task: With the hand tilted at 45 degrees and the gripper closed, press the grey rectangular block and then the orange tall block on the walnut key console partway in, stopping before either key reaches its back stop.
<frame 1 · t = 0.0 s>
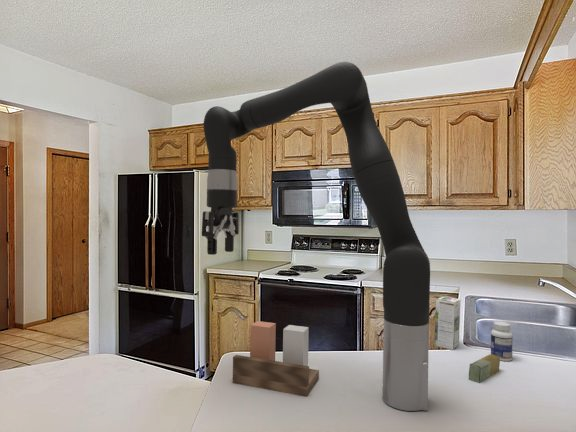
hand: (221, 253, 98), 29 cm above the worktop, tool pointing down, fingers open, 8 cm apart
pill bottle: (501, 358, 109), on the worktop
key console: (276, 380, 92), on the worktop
medication box: (484, 376, 97), on the worktop
grey rectangular block: (295, 349, 92), point 7 cm above the worktop, slide at 0.0 cm
orange tall block: (262, 344, 95), point 7 cm above the worktop, slide at 0.0 cm
syrup box: (446, 346, 119), on the worktop
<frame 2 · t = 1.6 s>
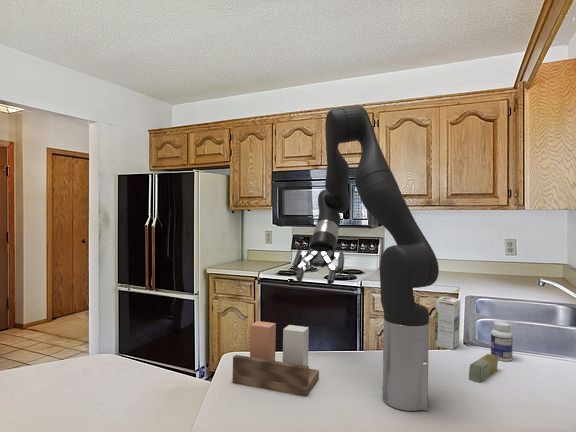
hand: (313, 282, 107), 21 cm above the worktop, tool tilted 45°, fingers open, 8 cm apart
nothing on the worktop moved.
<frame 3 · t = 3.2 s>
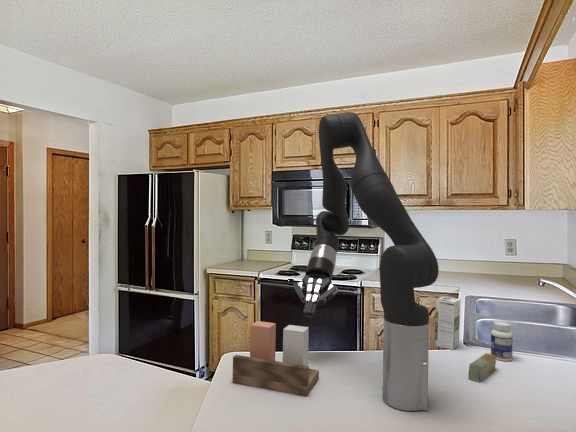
hand: (308, 316, 101), 13 cm above the worktop, tool tilted 45°, fingers closed
nothing on the worktop moved.
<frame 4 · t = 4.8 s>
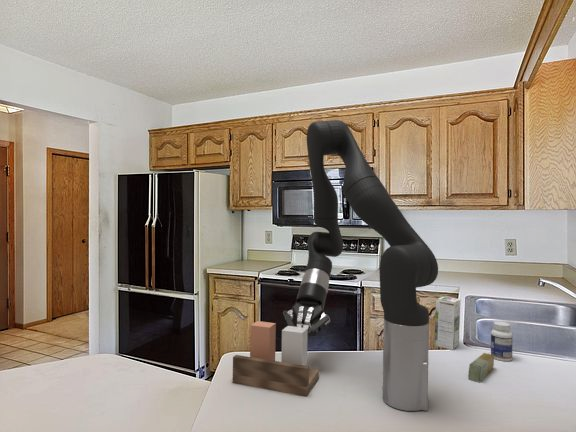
hand: (298, 349, 94), 7 cm above the worktop, tool tilted 45°, fingers closed
grey rectangular block: (294, 350, 91), point 7 cm above the worktop, slide at 0.9 cm, touching gripper
everything else where it was.
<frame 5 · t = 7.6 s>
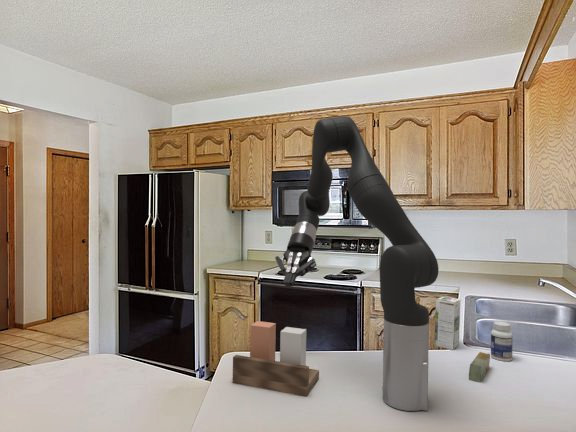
hand: (287, 285, 109), 19 cm above the worktop, tool tilted 45°, fingers closed
grey rectangular block: (293, 351, 90), point 7 cm above the worktop, slide at 1.8 cm
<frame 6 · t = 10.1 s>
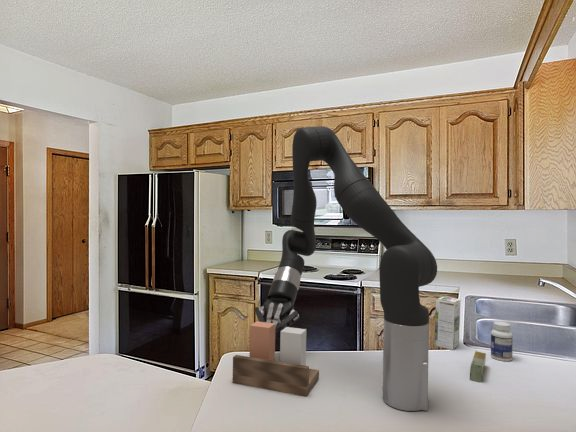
hand: (266, 343, 97), 7 cm above the worktop, tool tilted 45°, fingers closed
orange tall block: (262, 344, 95), point 7 cm above the worktop, slide at 0.3 cm, touching gripper
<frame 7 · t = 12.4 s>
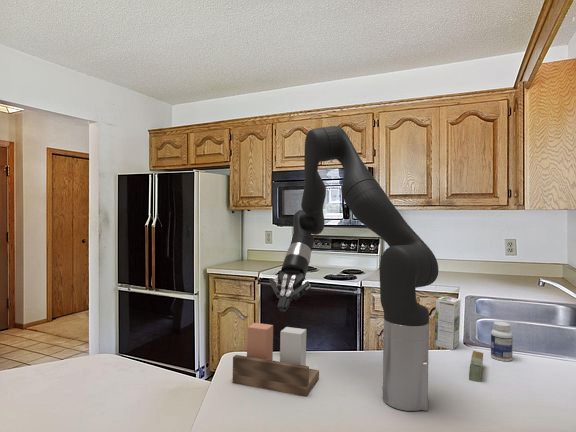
hand: (282, 310, 107), 13 cm above the worktop, tool tilted 45°, fingers closed
orange tall block: (260, 346, 94), point 7 cm above the worktop, slide at 1.7 cm
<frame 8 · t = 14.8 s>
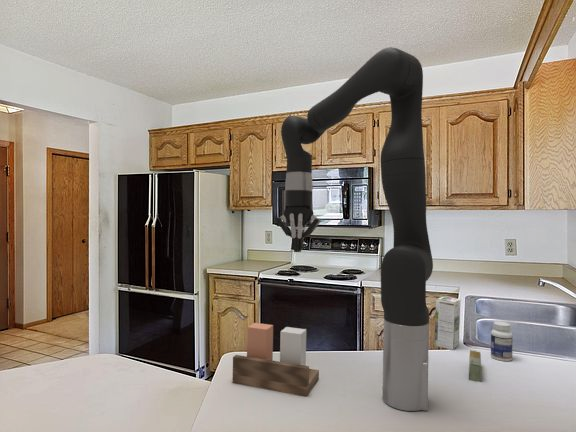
hand: (297, 251, 108), 29 cm above the worktop, tool pointing down, fingers closed
at the end: grey rectangular block slide at 1.8 cm; orange tall block slide at 1.7 cm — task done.
